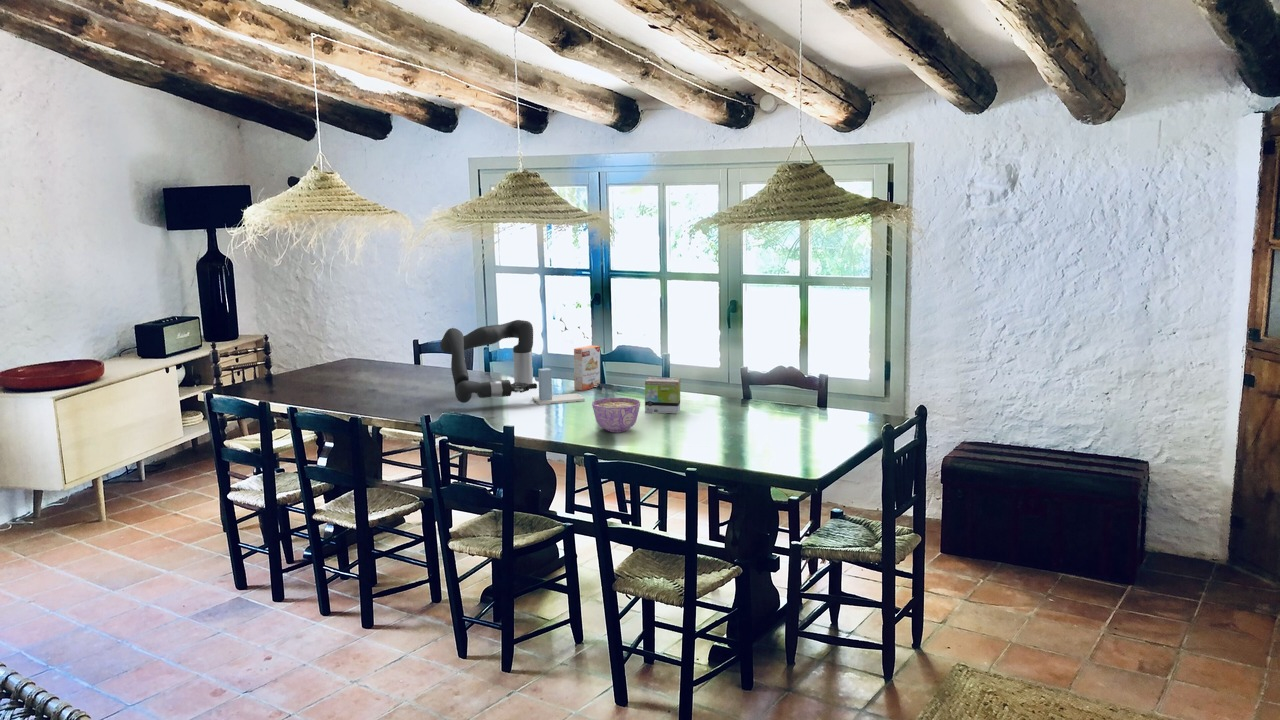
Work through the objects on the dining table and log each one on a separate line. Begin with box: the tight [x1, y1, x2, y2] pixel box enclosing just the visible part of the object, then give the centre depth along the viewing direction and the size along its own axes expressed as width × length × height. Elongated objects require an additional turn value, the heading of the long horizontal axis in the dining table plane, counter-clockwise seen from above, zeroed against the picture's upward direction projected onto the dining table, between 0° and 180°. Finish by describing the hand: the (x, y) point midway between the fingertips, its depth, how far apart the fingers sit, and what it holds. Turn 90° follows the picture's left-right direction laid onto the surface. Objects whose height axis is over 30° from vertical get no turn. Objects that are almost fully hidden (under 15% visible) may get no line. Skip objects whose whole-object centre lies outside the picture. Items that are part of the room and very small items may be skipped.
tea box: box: [644, 376, 681, 414], centre depth 439 cm, size 15×10×15 cm, turn 82°
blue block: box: [537, 367, 553, 400], centre depth 462 cm, size 5×5×14 cm
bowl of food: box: [591, 397, 641, 433], centre depth 406 cm, size 20×20×12 cm
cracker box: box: [573, 345, 601, 392], centre depth 491 cm, size 14×6×21 cm, turn 143°
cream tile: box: [531, 393, 586, 405], centre depth 466 cm, size 13×22×1 cm, turn 110°
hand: (536, 385), depth 460 cm, fingers closed
